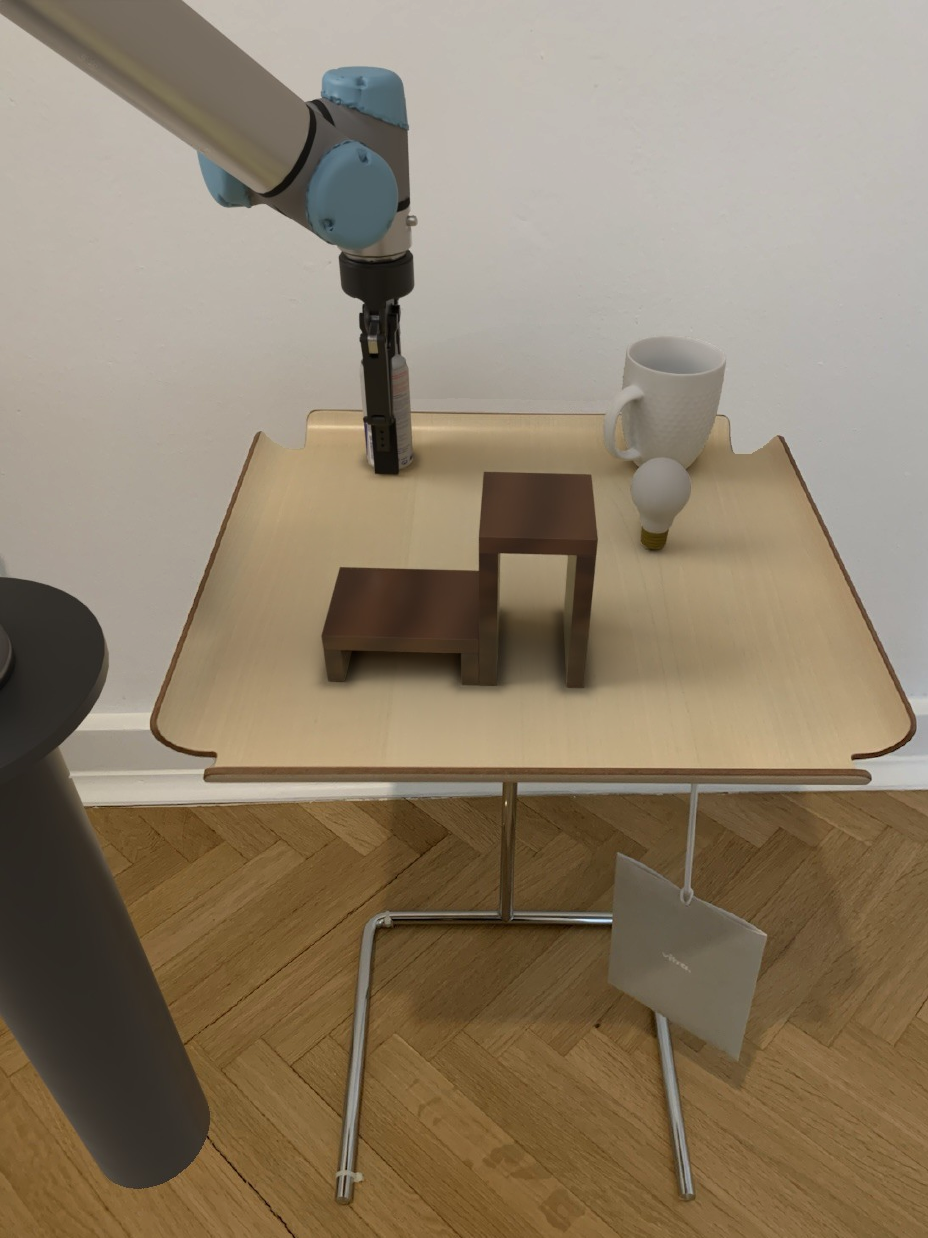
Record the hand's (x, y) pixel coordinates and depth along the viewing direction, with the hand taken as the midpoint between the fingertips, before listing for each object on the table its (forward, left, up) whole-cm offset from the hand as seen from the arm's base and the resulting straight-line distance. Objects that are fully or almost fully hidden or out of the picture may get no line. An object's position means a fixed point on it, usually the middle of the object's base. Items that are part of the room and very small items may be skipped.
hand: (390, 458), depth 110 cm
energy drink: (0, 0, -1) cm, 1 cm away
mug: (+31, +1, -1) cm, 31 cm away
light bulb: (+29, -17, -1) cm, 34 cm away
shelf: (+10, -34, 0) cm, 35 cm away
